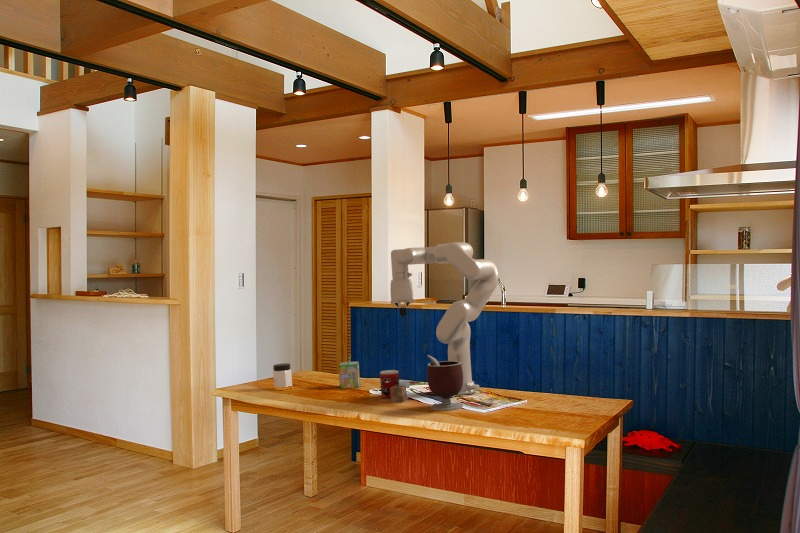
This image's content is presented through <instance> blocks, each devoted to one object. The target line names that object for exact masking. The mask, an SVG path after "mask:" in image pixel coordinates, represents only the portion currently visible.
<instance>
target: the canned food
mask: <svg viewBox="0 0 800 533" xmlns="http://www.w3.org/2000/svg"><path fill="white" fill-rule="evenodd" d="M399 380H400V376H399V370H396V369H388V370H387V369H386V370H382V371H379V381H380V394H381V398H382V399H390V400H392V399H391V387H393V386H399Z"/></svg>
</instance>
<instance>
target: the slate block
mask: <svg viewBox="0 0 800 533" xmlns="http://www.w3.org/2000/svg"><path fill="white" fill-rule="evenodd" d="M399 386H406V388H410V386H411V385H410V380H408V379H399Z"/></svg>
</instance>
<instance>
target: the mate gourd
mask: <svg viewBox="0 0 800 533" xmlns="http://www.w3.org/2000/svg"><path fill="white" fill-rule="evenodd" d="M426 357H427V358H429V359H430V360H431V362H429V363H427V368H426V369H427V370H426V379H427V384H428V385H427V386H428V388H429V390H430V391H431V393H432V394H433V395H434V396H436V397H439V398H441V399H442V402H439V403H435V404H432V405H431V406H430V407H431V410H433V411H439V412H446V411H447V412H450V411H457V410H460V409H463V408H464V404H463V403H461V402H453V401H452V400H451V398H452V397H454V396H456V394H458V393H459V392H460V390H461V389H462V385H463V371H462V366H461V362H458V361H448V360H443V361H441V360H440V361H438V360H437V359H436V358H435V357H433V356H431V355H430V354H427V356H426Z"/></svg>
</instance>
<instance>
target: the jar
mask: <svg viewBox="0 0 800 533" xmlns="http://www.w3.org/2000/svg"><path fill="white" fill-rule="evenodd" d="M272 369H273V370H272V374H273V387H274V386H275V387H288V386H292V387H293V376H292V369H291V364H290V363H287V362H286V363H275V364H274V365H273V368H272Z"/></svg>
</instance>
